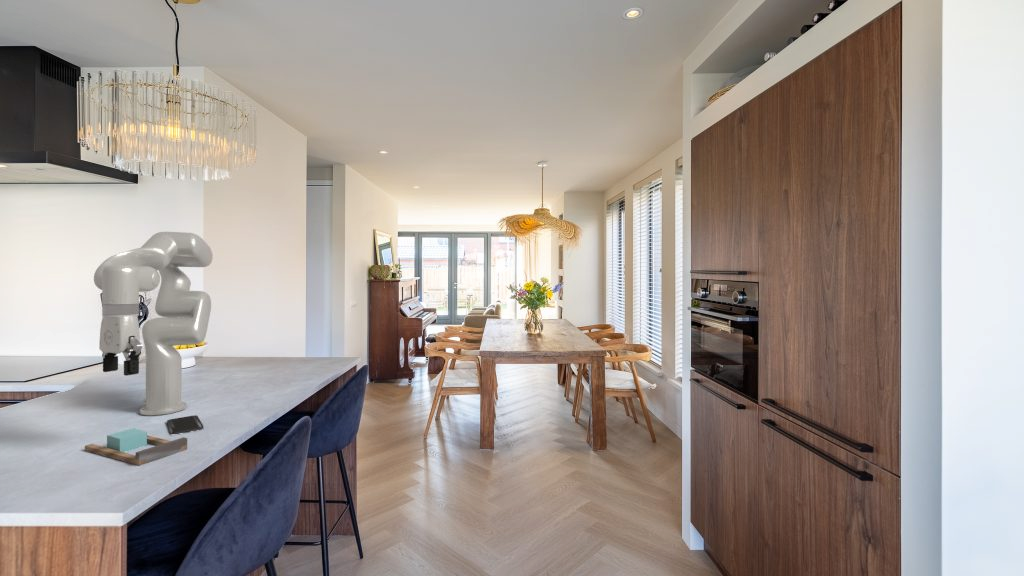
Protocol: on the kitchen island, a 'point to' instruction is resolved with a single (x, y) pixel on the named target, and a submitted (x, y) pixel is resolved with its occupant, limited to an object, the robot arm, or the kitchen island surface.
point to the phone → (184, 424)
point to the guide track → (145, 455)
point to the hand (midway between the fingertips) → (120, 372)
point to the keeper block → (127, 440)
